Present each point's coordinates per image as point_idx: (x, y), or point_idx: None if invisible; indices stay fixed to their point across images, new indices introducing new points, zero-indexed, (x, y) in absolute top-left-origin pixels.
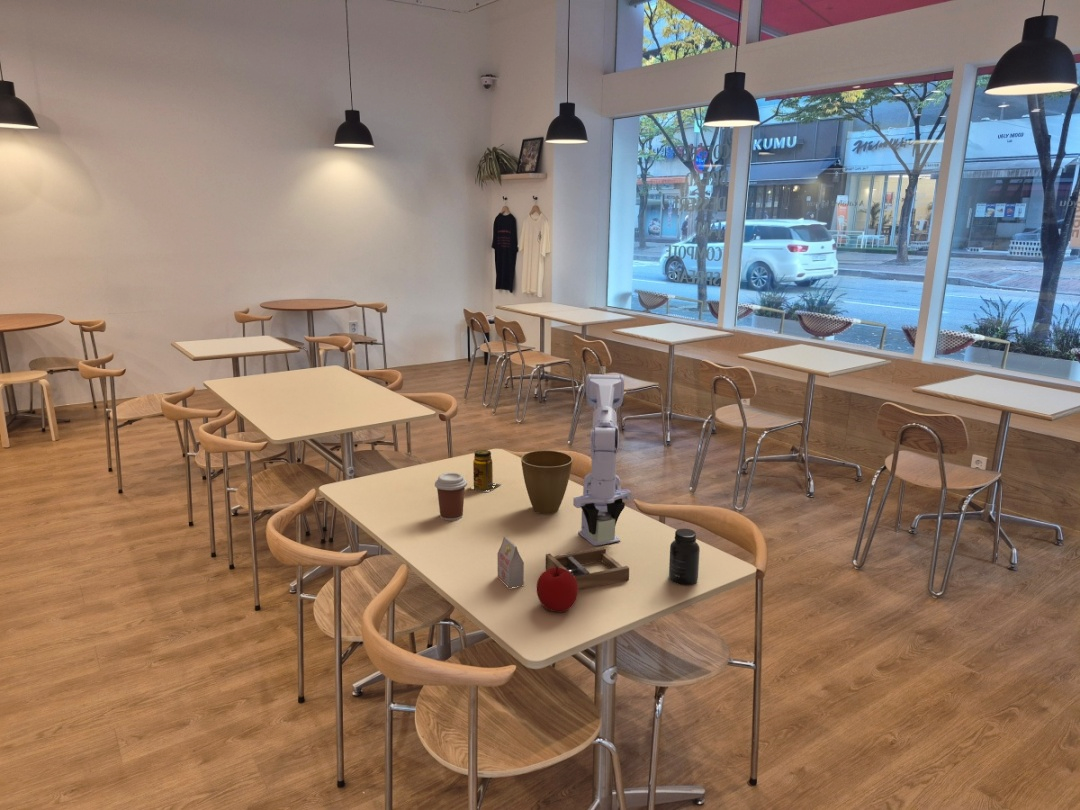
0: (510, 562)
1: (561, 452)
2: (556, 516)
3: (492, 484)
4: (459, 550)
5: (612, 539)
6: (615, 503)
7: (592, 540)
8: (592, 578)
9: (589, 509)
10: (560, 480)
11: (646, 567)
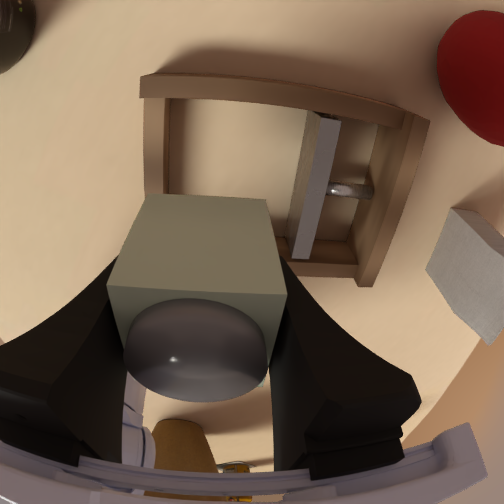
0: None
1: None
2: (171, 412)
3: (225, 469)
4: (410, 367)
5: (161, 196)
6: (61, 430)
7: None
8: (322, 90)
9: (400, 416)
10: None
11: (54, 135)
